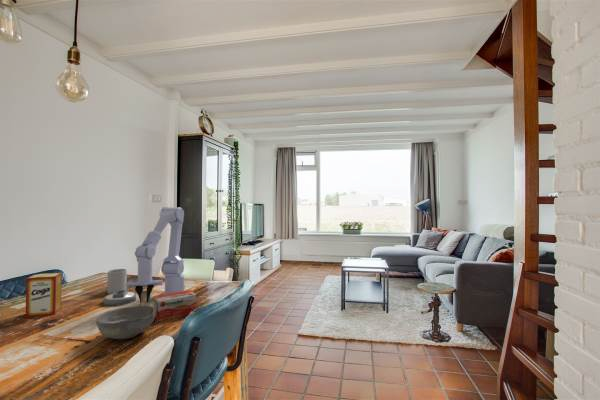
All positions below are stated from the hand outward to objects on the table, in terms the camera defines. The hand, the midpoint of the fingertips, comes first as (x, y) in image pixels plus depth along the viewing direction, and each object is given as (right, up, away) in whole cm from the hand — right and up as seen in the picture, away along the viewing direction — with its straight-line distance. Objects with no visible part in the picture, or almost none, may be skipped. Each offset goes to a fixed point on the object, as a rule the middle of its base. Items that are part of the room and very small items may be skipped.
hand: (144, 302), depth 133 cm
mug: (-26, -2, +22) cm, 34 cm away
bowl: (+10, -1, -30) cm, 32 cm away
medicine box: (+18, -2, -10) cm, 21 cm away
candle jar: (-14, -2, +6) cm, 16 cm away
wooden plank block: (0, -1, 0) cm, 1 cm away
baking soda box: (-37, -1, -10) cm, 38 cm away
